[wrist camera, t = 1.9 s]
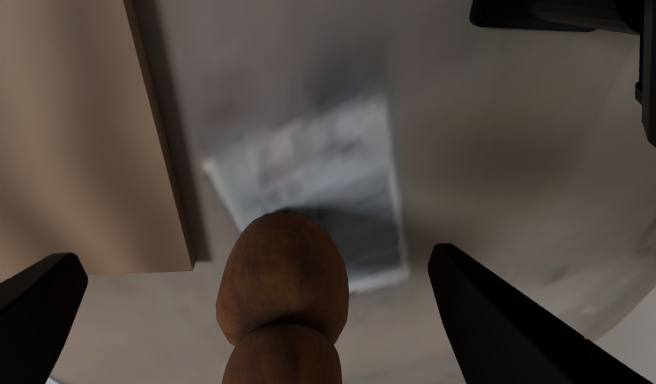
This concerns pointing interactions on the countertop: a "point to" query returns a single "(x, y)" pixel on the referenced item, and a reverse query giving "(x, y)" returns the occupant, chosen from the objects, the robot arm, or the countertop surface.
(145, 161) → the light brown wooden board
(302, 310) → the wooden figurine
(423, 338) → the countertop surface
